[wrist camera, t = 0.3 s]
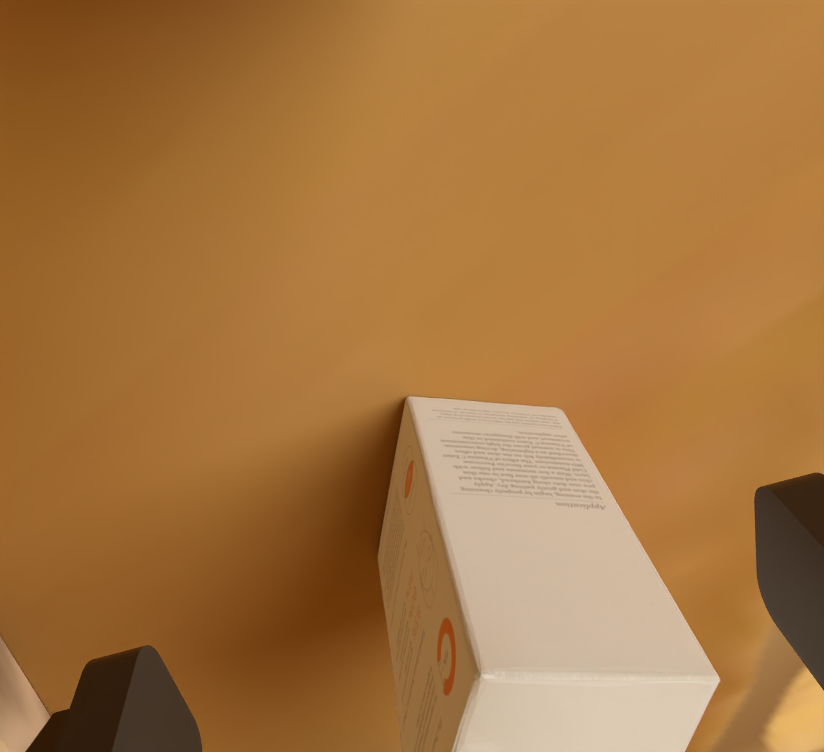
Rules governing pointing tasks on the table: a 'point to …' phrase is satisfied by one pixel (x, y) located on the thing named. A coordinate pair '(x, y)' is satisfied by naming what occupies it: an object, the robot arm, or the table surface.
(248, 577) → the table surface
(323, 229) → the table surface
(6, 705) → the maple base
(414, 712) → the small box
